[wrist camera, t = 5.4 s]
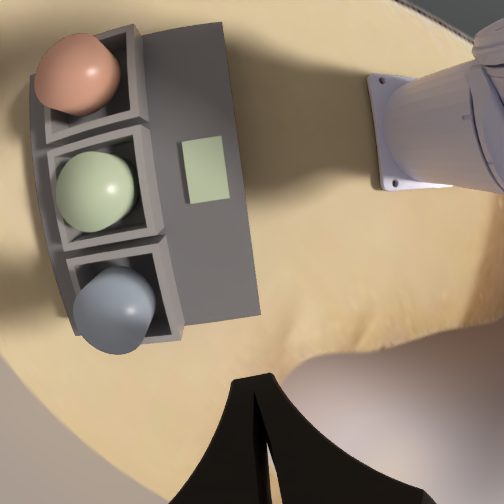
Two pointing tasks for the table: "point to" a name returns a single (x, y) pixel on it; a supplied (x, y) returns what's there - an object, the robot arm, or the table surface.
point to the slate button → (115, 310)
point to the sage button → (96, 190)
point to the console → (158, 181)
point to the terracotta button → (77, 75)
